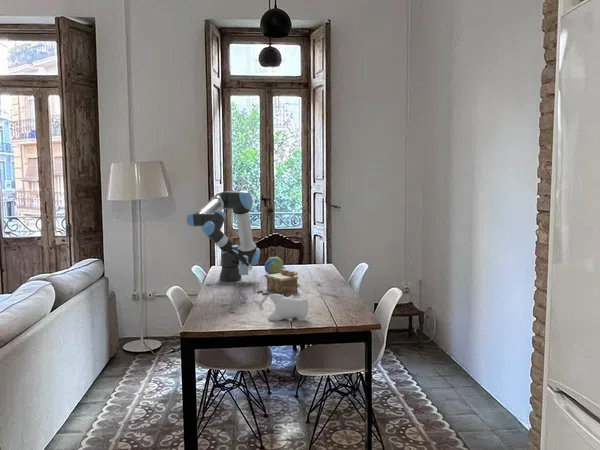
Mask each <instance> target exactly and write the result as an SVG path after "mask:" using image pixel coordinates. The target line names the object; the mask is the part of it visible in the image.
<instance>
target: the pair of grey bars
mask: <svg viewBox="0 0 600 450" xmlns="http://www.w3.org/2000/svg"><path fill="white" fill-rule="evenodd" d="M256 293H257V294H260V293H261V295H262V296H265V295H270V292H269V291H264V289H262V290H261V289H259V290H256Z"/></svg>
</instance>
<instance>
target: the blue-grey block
mask: <svg viewBox="0 0 600 450" xmlns="http://www.w3.org/2000/svg"><path fill="white" fill-rule="evenodd" d="M244 257H245V258H246V259H247V262H248V256H245V255H244ZM239 275H241V276H247V275H249V270H248V269H247V268H246V267H245V266H244V265H242V262H241V261H240V260H239Z"/></svg>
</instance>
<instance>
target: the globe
mask: <svg viewBox="0 0 600 450" xmlns="http://www.w3.org/2000/svg"><path fill="white" fill-rule="evenodd" d="M281 269H286V266H284V261H283V260H282V258H280V257H278V256H277V255H276V256H269V257H267V260H266V261H265V263H264V270H265V272H266V273H267V275H270V274H278V273H281Z"/></svg>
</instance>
